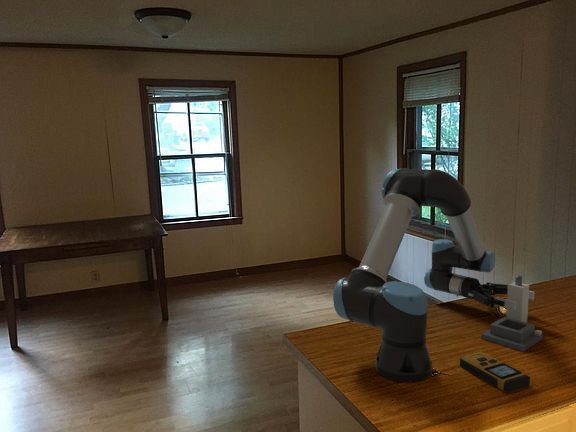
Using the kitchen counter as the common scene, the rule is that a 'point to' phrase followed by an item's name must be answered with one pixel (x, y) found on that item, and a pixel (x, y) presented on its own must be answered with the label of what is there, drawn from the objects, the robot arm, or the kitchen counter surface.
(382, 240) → the robot arm
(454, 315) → the kitchen counter surface
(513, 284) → the plug
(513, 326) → the socket
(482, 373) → the electronic device
